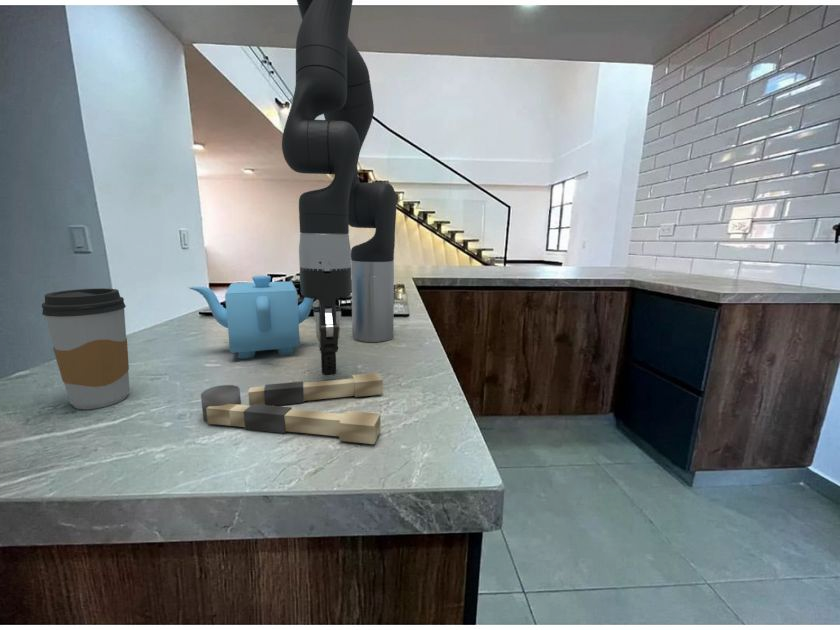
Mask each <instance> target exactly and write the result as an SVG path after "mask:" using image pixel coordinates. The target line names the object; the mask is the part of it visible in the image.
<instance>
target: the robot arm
mask: <svg viewBox="0 0 840 630" xmlns="http://www.w3.org/2000/svg"><path fill="white" fill-rule="evenodd" d="M296 2H297V6H298V9H299V10H298V11H299V12H300V17H301V23H300V25H299V28H298V32H297V35H296V42H295V86H294V93H293V97H292V102H291V105H290V110H289V112H288V116H287V118H286V121H285V124H284V128H283V133H282V136H281V151H282V154H283V157H284V160H285V162H286V164H287V166H288V167H289V168H290V169H291V170H292V171H294V172H295V173H299V174H311V175H312V174H314V175H315V174H316V175H317V174H320V175H332V174H333V176H334V177H333V179H332V180H331V182H330V184H329V185H327V186H325V187H323V188H320V189H313V190H310V191H309V190H308V191H306V192H303V193H301V195H300V196H299V198H298V214H299V215H298V218H299V219H298V222H299V233H300V234H299V243H298V244H299V245H298V260H299V261H298V262H299V264H298V265H299V280H300V281H299V283H300V286H299V287H300V294H301V296H302V297H304V298H305V297H306V298H311V299H316V300H318V306H313V317H314V318H313V319H314V323H315V332H316V339H317V340H318V342H319V345H318V348H319V352H320V355H321V356H320V358H321V359H320V361H321V375H322V376H334V375H336V374H337V352H338V350H339V338H340V336H341V331H340V329H341V327H340V324H341V323H340V322H341V320H342V309H341V308H340V305H337V304H336V303H337V302H336V301H337V299H344V298H347V297H349V296H351V316H352V317H351V319H352V320H351V321H352V322H351V324H352V325H351V326H352V327H351V328H352V329H351V332H352V336H351V337H352V339H353V340H355V341H358V342H365V343H378V342H386V341H390V340H391V339H393V338H394V319H395V318H394V314H395V313H394V312H395V310H394V309H395V307H394V303H395V300H394V299H395V296H394V294H395V293H394V291H395V288H394V286H395V279H394V278H395V273H394V272H395V269H394V267H395V261H394V260H395V244H396V241H395V240H396V219H397V196H396V191H395V189H394V187H393V185H392V184H391V183H388V182H361V181H360V178H359V174H358V173H359V171H358V162H359V158H360V153H361V150H362V148H363V144H364V142H365V140H366V137H367V135H368V132H369V131H370V130H369V129H370V127H371V124H372V122H373V117H374V112H375V108H374V105H375V104H374V99H373V92H372V86H371V80H370V78H371V77H370V73H369V68H368V66H367V64H366V62H365V60H364V58H363V56H362V54H361V53H360V52H359V51H358V49H357V47H356V46H355V44H354V43H353V41H351V39H350V38H349V27H350V20H351V13H352V7H353V2H354V1H353V0H296ZM322 115H323V117H324V119H316V118H318V117H320V116H322ZM350 227H352V228H358V229H375V232H374V235H373V236H372V237H371V238H370V239H368V240H367V241H365V242H363V243H360V244H359V243H358V244H357V245H354V246H352V248H351V243H350V235H349V233H350V232H349V231H350V230H349V228H350Z"/></svg>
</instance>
